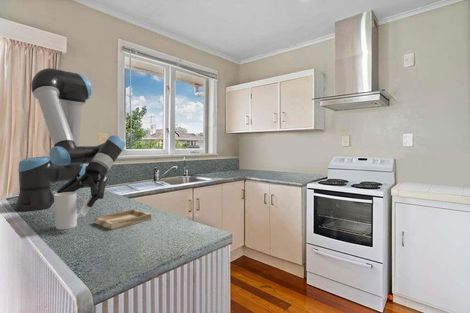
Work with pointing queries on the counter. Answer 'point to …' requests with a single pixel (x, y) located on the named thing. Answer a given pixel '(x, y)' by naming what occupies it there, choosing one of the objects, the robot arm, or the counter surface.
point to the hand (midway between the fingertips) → (66, 212)
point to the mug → (66, 209)
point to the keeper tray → (122, 219)
